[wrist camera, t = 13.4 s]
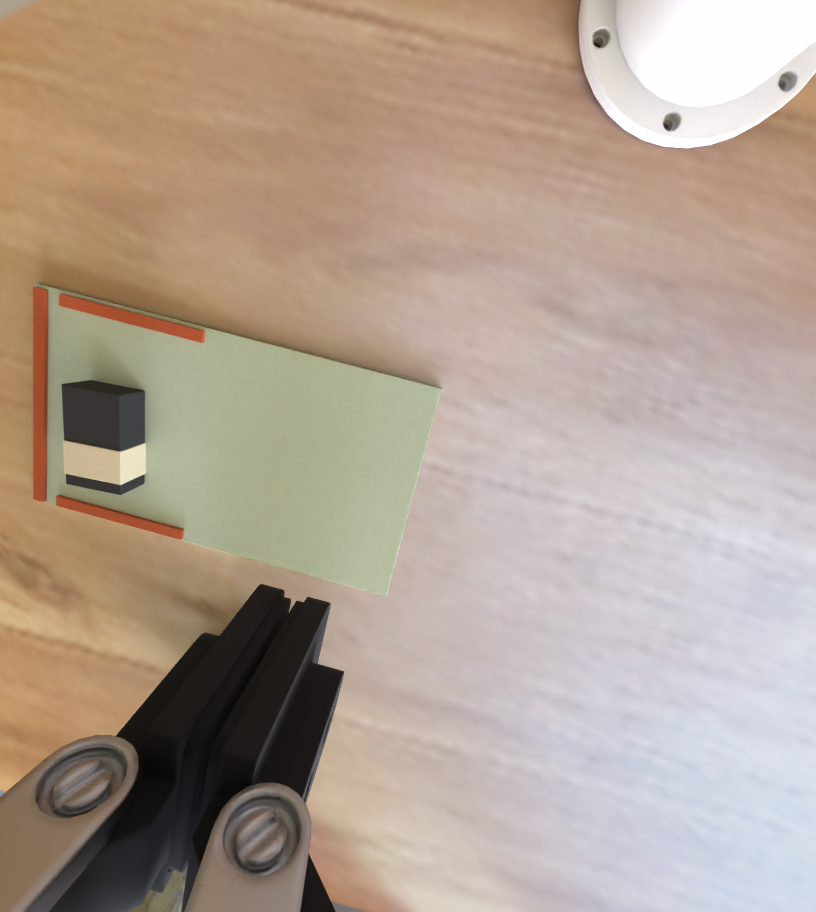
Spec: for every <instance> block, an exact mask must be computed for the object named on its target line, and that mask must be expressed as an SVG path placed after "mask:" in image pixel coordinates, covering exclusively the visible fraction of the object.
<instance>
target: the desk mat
mask: <svg viewBox="0 0 816 912" xmlns="http://www.w3.org/2000/svg"><path fill="white" fill-rule="evenodd" d="M88 380H94V381H99V382H104V383H109V384H114V385H119V386H125V387H130V388H135V389H140V390H144V391H145V443H146V473H145V483H144V484H143V485H141V486H139V487H137V488H135V489H133V490H131V491H128V492H126V493H124V494H122V495H117V494H112V493H107V492H102V491H97V490H92V489H88V488H83V487H78V486H73V485H68V484H66V474H65V473H64V457H63V440H64V427H63V406H62V386H61V385H62V384H65V383H73V382H80V381H88ZM440 393H441V388H439V387H435V386H431V385H427V384H423V383H419V382H416V381H412V380H408V379H404V378H400V377H396V376H392V375H389V374H385V373H381V372H377V371H373V370H369V369H365V368H362V367H358V366H354V365H350V364H346V363H342V362H339V361H335V360H331V359H327V358H323V357H319V356H315V355H312V354H308V353H304V352H300V351H296V350H292V349H288V348H285V347H281V346H277V345H273V344H269V343H265V342H261V341H258V340H254V339H250V338H246V337H242V336H238V335H234V334H231V333H227V332H223V331H219V330H215V329H211V328H207V327H204V326H200V325H196V324H192V323H188V322H184V321H181V320H177V319H173V318H169V317H165V316H161V315H157V314H154V313H150V312H146V311H142V310H138V309H134V308H130V307H127V306H123V305H119V304H115V303H111V302H107V301H103V300H100V299H96V298H92V297H88V296H84V295H80V294H76V293H73V292H69V291H65V290H61V289H57V288H53V287H50V286H46V285H42V284H35V287H34V499H35V500H38V501H42V502H46V503H49V504H53V505H56V506H60V507H64V508H67V509H71V510H74V511H78V512H82V513H85V514H89V515H93V516H96V517H100V518H104V519H107V520H111V521H114V522H118V523H122V524H125V525H129V526H133V527H136V528H140V529H144V530H147V531H151V532H154V533H158V534H162V535H165V536H169V537H173V538H176V539H180V540H184V541H188V542H191V543H195V544H198V545H202V546H206V547H209V548H213V549H217V550H220V551H224V552H228V553H231V554H235V555H238V556H242V557H246V558H249V559H253V560H257V561H260V562H264V563H268V564H271V565H275V566H278V567H282V568H286V569H289V570H293V571H297V572H300V573H304V574H307V575H311V576H315V577H318V578H322V579H326V580H329V581H333V582H337V583H340V584H344V585H347V586H351V587H355V588H358V589H362V590H366V591H369V592H373V593H377V594H380V595H384V596H387V592H388V588H389V584H390V581H391V577H392V573H393V569H394V566H395V562H396V558H397V554H398V550H399V547H400V543H401V539H402V535H403V532H404V528H405V524H406V520H407V517H408V513H409V509H410V505H411V502H412V498H413V494H414V490H415V487H416V483H417V479H418V475H419V471H420V468H421V464H422V460H423V456H424V453H425V449H426V445H427V441H428V438H429V434H430V430H431V426H432V423H433V419H434V415H435V411H436V408H437V404H438V400H439V396H440Z"/></svg>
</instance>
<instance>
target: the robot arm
mask: <svg viewBox="0 0 816 912" xmlns="http://www.w3.org/2000/svg"><path fill="white" fill-rule="evenodd" d="M578 21H579V48H580V52H581V57H582V62H583V67H584V71H585V74H586V77H587V79H588V82H589V84H590V86H591V89H592V91H593V94H594V96H595V97H596V99H597V100H598V101H599V103H600V104H601V106H602V107H603V109H604V110H605V112H606V113H607V114H608V115H609V116H610V117H611V118H612V119H613V120H614V121H615V122H616V123H617V124H618V125H619V126H620V127H622V128H623V129H624V130H626V131H627V132H629V133H631V134H633V135H634V136H636V137H638V138H639V139H641V140H643V141H647V142H650V143H653V144H657V145H660V146H663V147H676V148H692V147H699V146H706V145H712V144H715V143H718V142H721V141H724V140H727V139H730V138H732V137H735V136H737V135H739V134H740V133H742V132H744V131H746V130H748V129H750V128H752V127H753V126H755V125H757V124H759V123H760V122H761V121H763V120H764V119H766V118H767V117H768V116H770V115H771V114H773V113H774V112H776V111H777V110H779V109H780V108H781V107H782V106H783V105H785V104H786V103H787V102H788V101H789V100H790V99H792V98H793V97H794V96H795V95H796V94H797V93H798V92H799V91H800V90H801V89H802V88H803V87H804V86H805V84H806V83H807V82H808V81H809V80H810V78H811V77H812V76H813V75H814V74H815V72H816V0H581V4H580V12H579V20H578ZM594 43H598V44H600V47H601V48H598V47H596V46H594ZM779 87H780V88H779ZM663 124H667V125H668V127H669V130H668V131H667V130H666V129H665V128H664V126H663ZM290 603H291V599H289V598H286V597H284V590H282V589H278V588H274V587H271V586H267V585H263V584H260V585H259V586H258V587H257V588H256V590H255V591H254V592H253V594H252V595H251V596H250V598H249V599H248V600H247V601H246V603H245V604H244V605H243V607H242V608H241V609H240V610H239V612H238V613H237V614H236V616H235V617H234V618H233V620H232V621H231V622H230V623H229V625H228V626H227V627H226V629H225V630H224V631H223V633H222V634H221V635H220V636H216V635H213V634H209V633H204V634H202V635H201V636H200V637H199V638H198V639H197V640H196V641H195V642H194V643H193V645H192V646H191V647H190V648H189V649H188V651H187V652H186V653H185V654H184V655H183V657H182V658H181V659H180V660H179V661H178V662H177V664H176V665H175V666H174V667H173V668H172V670H171V671H170V672H169V673H168V674H167V676H166V677H165V678H164V679H163V680H162V682H161V683H160V684H159V685H158V686H157V688H156V689H155V690H154V691H153V692H152V694H151V695H150V696H149V697H148V698H147V699H146V701H145V702H144V703H143V704H142V705H141V707H140V708H139V709H138V710H137V711H136V713H135V714H134V715H133V716H132V717H131V719H130V720H129V721H128V722H127V723H126V725H125V726H124V727H123V728H122V729H121V731H120V732H119V733H118V734H117V735H116V736H112V735H94V736H90V737H86V738H82V739H78V740H76V741H74V742H72V743H69V744H67V745H65V746H63V747H61V748H60V749H58V750H57V751H55V752H54V753H52V754H51V755H50V756H48V757H47V758H45V759H44V760H43V761H42V762H41V763H40V764H38V765H37V766H36V767H35V768H34V769H33V770H31V771H30V772H29V773H28V774H27V775H26V776H24V777H23V778H22V779H21V780H20V781H19V782H17V783H16V784H15V785H14V786H13V787H12V788H10V789H9V790H8V791H7V792H6V793H5V794H3V795H2V796H1V797H0V912H128V911H130V910H132V909H134V908H135V907H137V906H139V905H140V904H142V903H143V901H144V900H145V898H146V896H147V894H148V892H149V890H153V891H156V892H159V893H163V891H164V889H165V887H166V885H167V883H168V882H169V880H170V878H171V876H172V874H173V872H174V871H178V872H181V873H183V872H184V871H185V870H186V868H187V867H188V868H187V875H186V882H185V889H184V896H183V902H182V909H181V912H335V909H334V907H333V905H332V903H331V901H330V899H329V896H328V894H327V892H326V890H325V888H324V886H323V883H322V881H321V879H320V877H319V875H318V873H317V870H316V868H315V866H314V864H313V862H312V860H311V857H310V855H309V847H310V840H311V818H310V815H309V811H308V808H307V805H306V801H307V798H308V795H309V792H310V789H311V786H312V782H313V779H314V776H315V773H316V770H317V767H318V763H319V760H320V757H321V754H322V751H323V748H324V744H325V741H326V738H327V735H328V732H329V728H330V725H331V721H332V718H333V714H334V711H335V707H336V703H337V699H338V696H339V692H340V688H341V683H342V679H343V675H344V671H341V670H337V669H333V668H330V667H326V666H323V665H319V664H318V659H319V655H320V650H321V646H322V641H323V637H324V633H325V628H326V624H327V619H328V615H329V610H330V603H329V602H325V601H321V600H318V599H314V598H310V597H307V598H306V600H305V602H300V601H296V603H295V604H294V606H293V607H292V609H291V611H290V613H289V609H290Z"/></svg>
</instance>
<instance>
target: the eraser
mask: <svg viewBox="0 0 816 912" xmlns="http://www.w3.org/2000/svg"><path fill="white" fill-rule="evenodd" d="M61 386H62V406H63V427H64V440H63V457H64V473H65V474H66V484H68V485H73V486H78V487H83V488H88V489H92V490H97V491H102V492H107V493H112V494H117V495H122V494H124V493H126V492H128V491H131V490H133V489H135V488H137V487H139V486H141V485H143V484H144V483H145V473H146V443H145V391H144V390H140V389H135V388H130V387H125V386H119V385H114V384H109V383H104V382H99V381H94V380H88V381H80V382H73V383H65V384H62V385H61Z"/></svg>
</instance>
